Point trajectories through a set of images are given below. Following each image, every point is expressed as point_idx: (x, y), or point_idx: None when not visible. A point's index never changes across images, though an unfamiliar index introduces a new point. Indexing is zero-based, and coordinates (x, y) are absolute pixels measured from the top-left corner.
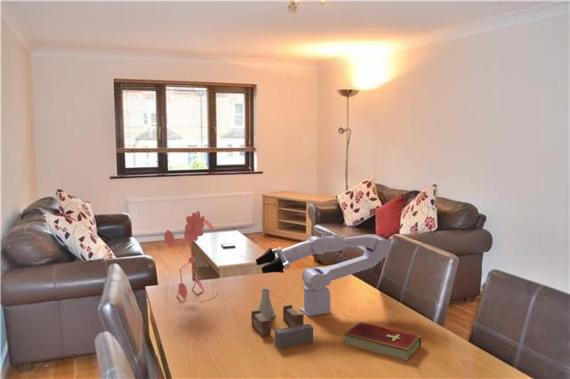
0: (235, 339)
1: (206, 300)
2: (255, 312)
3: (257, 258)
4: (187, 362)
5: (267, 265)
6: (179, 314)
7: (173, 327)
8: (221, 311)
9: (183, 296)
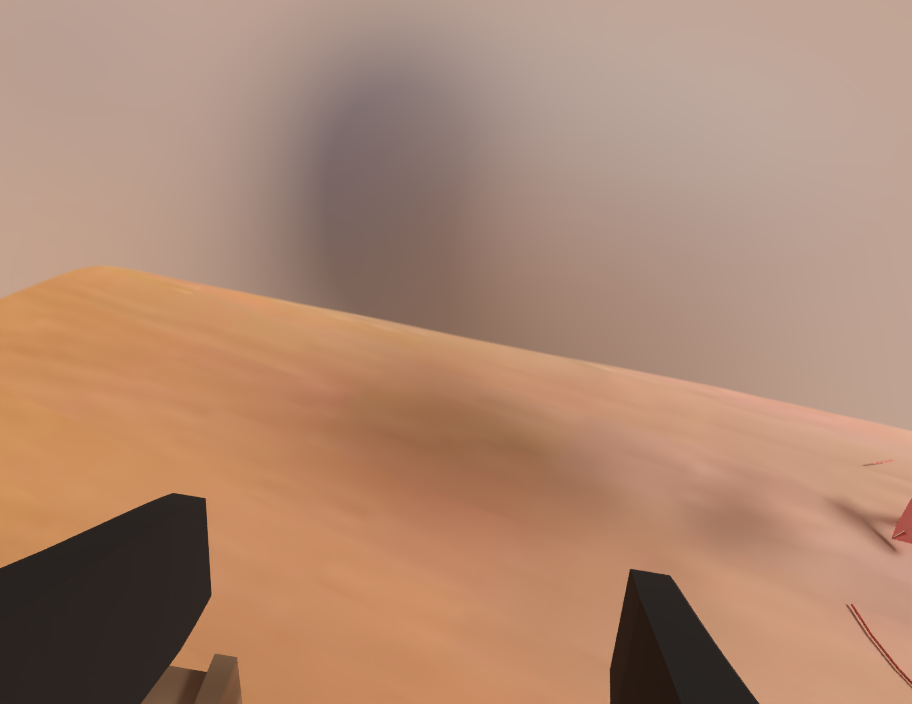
0: None
1: (885, 652)
2: (200, 693)
3: (680, 599)
4: (131, 305)
5: (57, 547)
6: (653, 446)
7: (495, 378)
8: None
9: (909, 522)
